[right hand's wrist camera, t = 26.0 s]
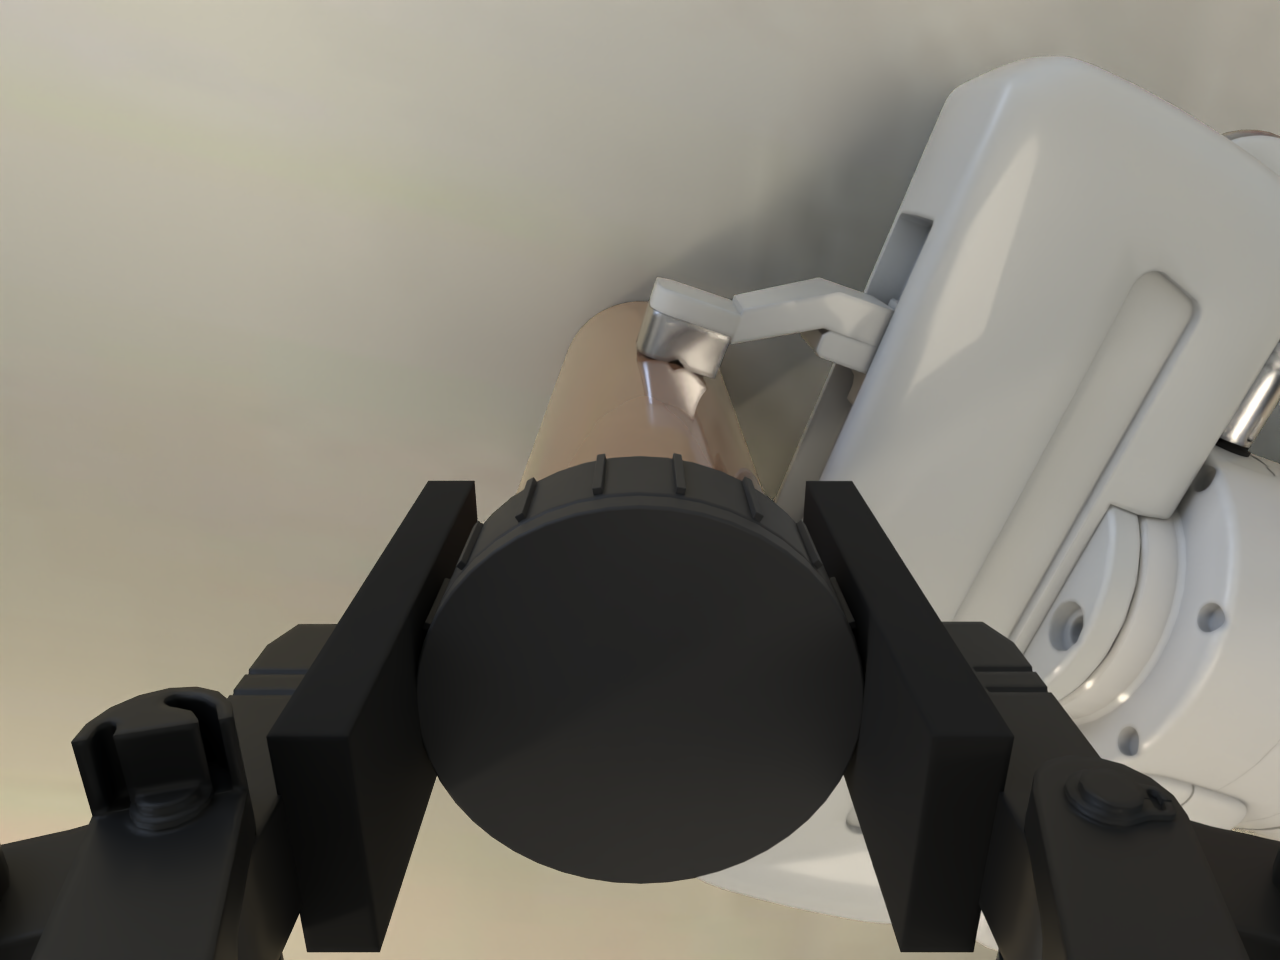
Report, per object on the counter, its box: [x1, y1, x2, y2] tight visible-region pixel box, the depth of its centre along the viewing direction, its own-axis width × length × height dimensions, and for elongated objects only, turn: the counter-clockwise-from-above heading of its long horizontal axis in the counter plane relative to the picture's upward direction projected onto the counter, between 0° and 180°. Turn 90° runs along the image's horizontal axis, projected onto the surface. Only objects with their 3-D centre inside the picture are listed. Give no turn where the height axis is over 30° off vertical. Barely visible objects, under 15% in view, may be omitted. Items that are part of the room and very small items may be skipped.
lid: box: [416, 453, 865, 884], centre depth 11 cm, size 6×6×2 cm
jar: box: [516, 301, 765, 495], centre depth 18 cm, size 5×5×15 cm
